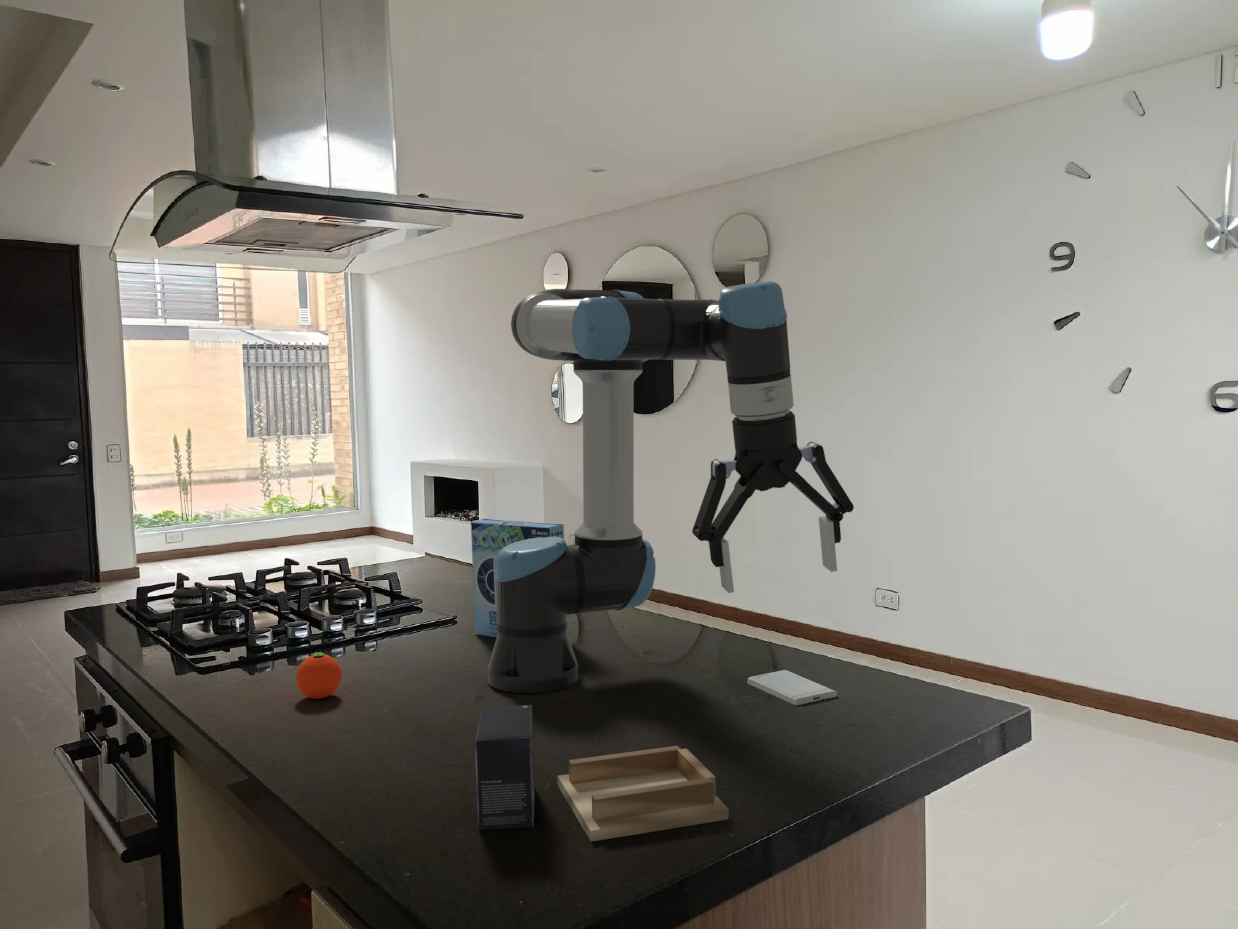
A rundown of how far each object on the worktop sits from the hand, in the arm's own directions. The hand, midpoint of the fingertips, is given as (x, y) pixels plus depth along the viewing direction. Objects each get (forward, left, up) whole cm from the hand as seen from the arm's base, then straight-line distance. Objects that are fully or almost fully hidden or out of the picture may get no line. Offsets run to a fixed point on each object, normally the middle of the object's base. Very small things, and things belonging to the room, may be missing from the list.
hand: (779, 578), depth 116 cm
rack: (+4, -20, -24) cm, 32 cm away
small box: (+1, -35, -24) cm, 43 cm away
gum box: (-72, -19, -24) cm, 79 cm away
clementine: (-48, -56, -24) cm, 78 cm away
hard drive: (-27, +16, -25) cm, 40 cm away
